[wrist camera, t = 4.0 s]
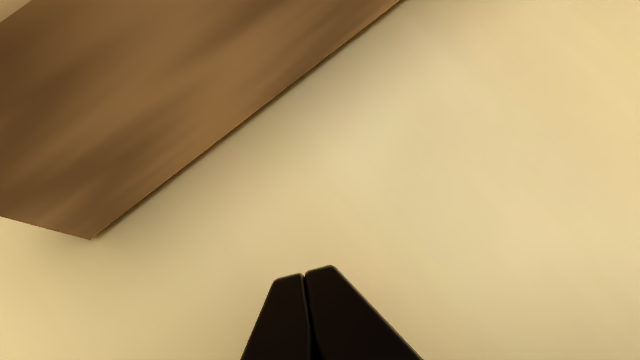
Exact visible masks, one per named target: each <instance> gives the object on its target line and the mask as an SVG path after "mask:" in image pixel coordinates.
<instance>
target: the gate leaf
mask: <svg viewBox="0 0 640 360" xmlns="http://www.w3.org/2000/svg"><path fill="white" fill-rule="evenodd" d="M399 1H400V0H0V216H1V217H5V218H8V219H12V220H16V221H20V222H24V223H27V224H31V225H35V226H39V227H43V228H46V229H50V230H54V231H58V232H62V233H65V234H69V235H73V236H77V237H81V238H84V239H88V240H90V239H92V238H93V237H94V236H95V235H97V234H98V233H99V232H101V231H102V230H103V229H105V228H106V227H107V226H108V225H110V224H111V223H112V222H114V221H115V220H116V219H117V218H119V217H120V216H121V215H123V214H124V213H125V212H127V211H128V210H129V209H130V208H132V207H133V206H134V205H136V204H137V203H138V202H139V201H141V200H142V199H143V198H145V197H146V196H147V195H149V194H150V193H151V192H152V191H154V190H155V189H156V188H158V187H159V186H160V185H161V184H163V183H164V182H165V181H167V180H168V179H169V178H171V177H172V176H173V175H174V174H176V173H177V172H178V171H180V170H181V169H182V168H184V167H185V166H186V165H187V164H189V163H190V162H191V161H193V160H194V159H195V158H196V157H198V156H199V155H200V154H202V153H203V152H204V151H206V150H207V149H208V148H209V147H211V146H212V145H213V144H215V143H216V142H217V141H218V140H220V139H221V138H222V137H224V136H225V135H226V134H228V133H229V132H230V131H231V130H233V129H234V128H235V127H237V126H238V125H239V124H241V123H242V122H243V121H244V120H246V119H247V118H248V117H250V116H251V115H252V114H253V113H255V112H256V111H257V110H259V109H260V108H261V107H263V106H264V105H265V104H266V103H268V102H269V101H270V100H272V99H273V98H274V97H275V96H277V95H278V94H279V93H281V92H282V91H283V90H285V89H286V88H287V87H288V86H290V85H291V84H292V83H294V82H295V81H296V80H298V79H299V78H300V77H301V76H303V75H304V74H305V73H307V72H308V71H309V70H310V69H312V68H313V67H314V66H316V65H317V64H318V63H320V62H321V61H322V60H323V59H325V58H326V57H327V56H329V55H330V54H331V53H332V52H334V51H335V50H336V49H338V48H339V47H340V46H342V45H343V44H344V43H345V42H347V41H348V40H349V39H351V38H352V37H353V36H354V35H356V34H357V33H358V32H360V31H361V30H362V29H364V28H365V27H366V26H367V25H369V24H370V23H371V22H373V21H374V20H375V19H377V18H378V17H379V16H380V15H382V14H383V13H384V12H386V11H387V10H388V9H389V8H391V7H392V6H393V5H395V4H396V3H397V2H399Z"/></svg>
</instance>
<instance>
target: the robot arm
mask: <svg viewBox="0 0 640 360" xmlns="http://www.w3.org/2000/svg"><path fill="white" fill-rule="evenodd" d="M240 360H423V359H422V358H421V357H420V356H419V354H418V353H417V352H416V351H415V350H414V349H413V348H412V347H411V346H410V345H409V344H408V343H407V342H406V341H405V340H404V339H403V338H402V337H401V336H400V334H399V333H398V332H397V331H396V330H395V329H394V328H393V327H392V326H391V325H390V324H389V323H388V322H387V321H386V320H385V319H384V318H383V317H382V316H381V314H380V313H379V312H378V311H377V310H376V309H375V308H374V307H373V306H372V305H371V304H370V303H369V302H368V301H367V300H366V299H365V298H364V297H363V296H362V294H361V293H360V292H359V291H358V290H357V289H356V288H355V287H354V286H353V285H352V284H351V283H350V282H349V281H348V280H347V279H346V278H345V277H344V276H343V274H342V273H341V272H340V271H339V270H338V269H337V268H336V267H334V266H332V265H328V266H324V267H320V268H316V269H312V270H309V271H307V272H306V273H305V277H304V275H303V274H301V273H297V274H293V275H289V276H285V277H281V278H278V279H276V280H275V281H274V282H273V283H272V286H271V288H270V290H269V293H268V295H267V298H266V300H265V302H264V305H263V307H262V309H261V312H260V314H259V317H258V319H257V321H256V324H255V326H254V328H253V331H252V333H251V336H250V338H249V340H248V343H247V345H246V347H245V350H244V352H243V355H242V357H241V359H240Z"/></svg>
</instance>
